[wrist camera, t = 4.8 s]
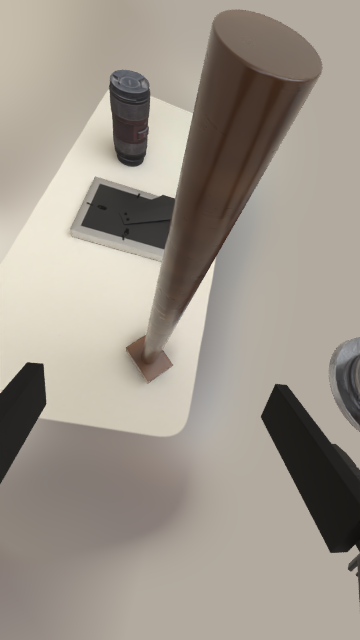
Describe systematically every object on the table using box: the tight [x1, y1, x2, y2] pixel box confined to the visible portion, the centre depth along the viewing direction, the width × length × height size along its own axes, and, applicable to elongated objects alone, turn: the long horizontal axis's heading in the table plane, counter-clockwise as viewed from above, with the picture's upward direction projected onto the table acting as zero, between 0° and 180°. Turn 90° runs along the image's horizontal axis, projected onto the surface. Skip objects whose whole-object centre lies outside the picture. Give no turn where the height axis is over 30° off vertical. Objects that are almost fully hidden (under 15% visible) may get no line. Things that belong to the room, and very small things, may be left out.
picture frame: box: [70, 177, 175, 262], centre depth 50 cm, size 16×3×21 cm
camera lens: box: [109, 70, 150, 166], centre depth 51 cm, size 8×8×15 cm
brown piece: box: [126, 10, 322, 383], centre depth 23 cm, size 7×5×40 cm
